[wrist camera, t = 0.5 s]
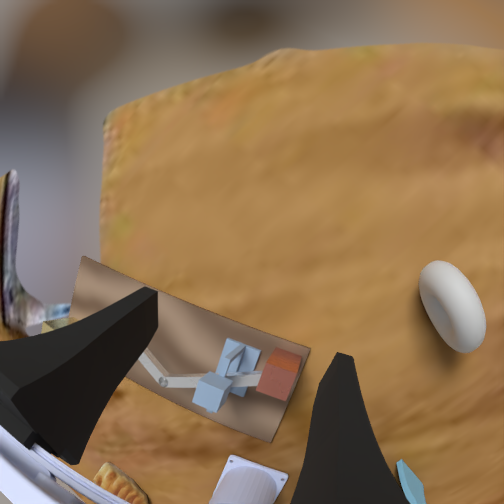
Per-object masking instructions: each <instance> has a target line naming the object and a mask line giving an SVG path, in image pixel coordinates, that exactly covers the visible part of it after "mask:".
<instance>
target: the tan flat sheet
mask: <svg viewBox="0 0 504 504" xmlns="http://www.w3.org/2000/svg"><path fill="white" fill-rule="evenodd" d="M144 286H146V287H148V288H151V289H153V290H156V291H158V329H157V331H156V332H155V334H154V336H153V338H152V340H151V341H150V343H149V345H148V346H147V348H148V349H149V350H150V352H151V353H152V354H153V355H154V356H155V358H156V359H157V360H158V361H159V362H160V363H161V365H162V366H163V367H164V368H165V369H166V370H167V371H168V373H169V374H205V373H208V372H209V371H211V372H213V373H215V372H216V369H217V366H218V363H219V360H220V357H221V354H222V351H223V348H224V345H225V342H226V339H227V338H230V339H233V340H235V341H238V342H241V343H243V344H246V345H248V346H251V347H254V348H256V349H259V350H261V353H260V355H259V358H258V361H257V364H256V366H255V369H254V371H263V369H264V367H265V364H266V362H267V360H268V359H269V357H270V356H271V354H272V353H273V351H274V350H275V348H276V347H277V348H280V349H283V350H286V351H289V352H292V353H294V354H297V355H300V356H302V357H301V361H300V365H299V368H298V372H297V375H296V377H295V380H294V382H293V385H292V387H291V390H290V392H289V394H288V397H287V399H286V401H283V400H281V399H278V398H275V397H272V396H269V395H267V394H264V393H261V392H259V391H256V388H257V386H248V388H247V391H246V393H245V396H244V397H241V396H239V395H236V394H234V393H231V392H229V394H228V397H227V400H226V402H225V403H224V404H223V406H222V407H221V408H220V409H219V411H218V412H217V413H215V412H213V413H209V412H207V411H206V410H207V409H206V408H204V407H202V406H199V405H197V404H195V403H193V402H192V400H193V397H194V394H195V391H196V388H170V387H162V386H160V385H159V383H158V382H157V381H156V380H155V379H154V378H153V376H152V375H151V374H150V373H149V372H148V371H147V369H146V368H145V367H144V366H143V365H142V363H141V362H140V361H139V360H137V361H136V363H135V364H134V365H133V366H132V368H131V369H130V370H129V372H128V373H127V374H126V377H127V378H129V379H131V380H133V381H134V382H136V383H138V384H140V385H142V386H143V387H145V388H147V389H149V390H151V391H153V392H155V393H157V394H158V395H160V396H162V397H164V398H166V399H168V400H170V401H172V402H174V403H176V404H178V405H180V406H182V407H185V408H187V409H189V410H191V411H193V412H195V413H197V414H200V415H202V416H204V417H206V418H209V419H211V420H213V421H215V422H218V423H220V424H222V425H225V426H227V427H230V428H232V429H235V430H237V431H240V432H242V433H245V434H247V435H250V436H253V437H255V438H258V439H261V440H263V441H266V442H269V443H271V441H272V439H273V437H274V434H275V432H276V430H277V428H278V425H279V423H280V421H281V419H282V416H283V414H284V412H285V410H286V407H287V405H288V403H289V400H290V398H291V396H292V393H293V391H294V388H295V386H296V384H297V381H298V379H299V376H300V374H301V371H302V369H303V366H304V364H305V361H306V359H307V356H308V353H309V351H310V348H308V347H306V346H303V345H300V344H297V343H294V342H291V341H288V340H285V339H283V338H280V337H277V336H274V335H271V334H269V333H266V332H263V331H260V330H258V329H255V328H252V327H250V326H247V325H244V324H242V323H239V322H236V321H234V320H231V319H229V318H226V317H224V316H221V315H218V314H216V313H213V312H211V311H208V310H206V309H203V308H201V307H198V306H196V305H194V304H191V303H189V302H186V301H184V300H181V299H179V298H177V297H174V296H172V295H170V294H167V293H165V292H163V291H160V290H158V289H156V288H153V287H151V286H149V285H146V284H144V283H142V282H140V281H137V280H135V279H133V278H131V277H128V276H126V275H124V274H122V273H120V272H118V271H115V270H113V269H111V268H109V267H107V266H105V265H102V264H100V263H98V262H96V261H94V260H92V259H90V258H88V257H86V256H82V258H81V263H80V267H79V271H78V275H77V279H76V284H75V289H74V293H73V298H72V303H71V308H70V313H69V318H71V317H75V318H76V319H78V320H81V319H83V318H86V317H88V316H90V315H92V314H94V313H96V312H98V311H100V310H102V309H104V308H106V307H108V306H109V305H111V304H113V303H115V302H117V301H119V300H121V299H122V298H124V297H126V296H128V295H130V294H131V293H133V292H135V291H137V290H139V289H141V288H142V287H144Z"/></svg>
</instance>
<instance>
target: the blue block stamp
mask: <svg viewBox="0 0 504 504" xmlns="http://www.w3.org/2000/svg"><path fill="white" fill-rule="evenodd" d="M260 353H261V350H259V349H256V348H254V347H251V346H248V345H246V344H243V343H241V342H238V341H235V340H233V339H230V338H227V339H226V342H225V345H224V348H223V351H222V354H221V357H220V360H219V363H218V366H217V369H216V372H215V373H219V375H218V374H215V373H213V372H211V371H209V372H208V373H207V374H206V375H204V376H203V377H202V378H201V379H199V381H198V384H197V388H196V391H195V394H194V397H193V400H192V402H193V403H195V404H197V405H199V406H202V407H204V408H206V409H207V410H206V411H207V412H209V413H213V412H215V413H217V412H218V411H219V409H220V408H221V407H222V406H223V404H224V403H225V402H226V400H227V397H228V394H229V392H231V393H234V394H236V395H239V396H241V397H244V396H245V393H246V391H247V388H248V386H245V387H231V386H232V383H233V381H232V380H230V379H227V378H225V377H226V374H227V373H231V372H249V371H254V369H255V366H256V364H257V361H258V358H259V355H260Z"/></svg>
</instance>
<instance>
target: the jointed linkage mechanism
mask: <svg viewBox="0 0 504 504" xmlns="http://www.w3.org/2000/svg"><path fill="white" fill-rule="evenodd" d="M77 321H79V320H78V319H76V318H75V317H71V318H64V319H57V320H50V321H43V325H42V332H41V334H42V333H46V332H49V331H53V330H56V329H59V328H61V327H64V326H67V325H70V324H72V323H74V322H77ZM301 357H302V356H300V355H297V354H294V353H292V352H289V351H286V350H283V349H280V348H277V347H276V348H275V350H274V351H273V353H272V354H271V356H270V357H269V359H268V360H267V362H266V364H265V367H264V369H263V371H249V372H231V373H227V374H226V377H225V378H227V379H230V380H232V381H233V383H232V386H231V387H245V386H257V388H256V391H259V392H261V393H264V394H267V395H269V396H272V397H275V398H278V399H281V400H283V401H286V399H287V397H288V394H289V392H290V390H291V387H292V385H293V382H294V380H295V377H296V375H297V372H298V368H299V365H300V361H301ZM138 360H139V361H140V362H141V363H142V365H143V366H144V367H145V368H146V369H147V371H148V372H149V373H150V374H151V375H152V376H153V378H154V379H155V380H156V381H157V382H158V383H159V385H160V386H162V387H170V388H197V384H198V381H199V379H201V378H202V377H203V376H204V375H206V374H207V373H205V374H169V373H168V371H167V370H166V369H165V368H164V367H163V366H162V365H161V363H160V362H159V361H158V360H157V359H156V358H155V356H154V355H153V354H152V353H151V352H150V350H149V349H148V348H146V349H145V351H144V352H143V353H142V355H141V356H140V357H139V359H138ZM215 374H218V375H219V373H215Z"/></svg>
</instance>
